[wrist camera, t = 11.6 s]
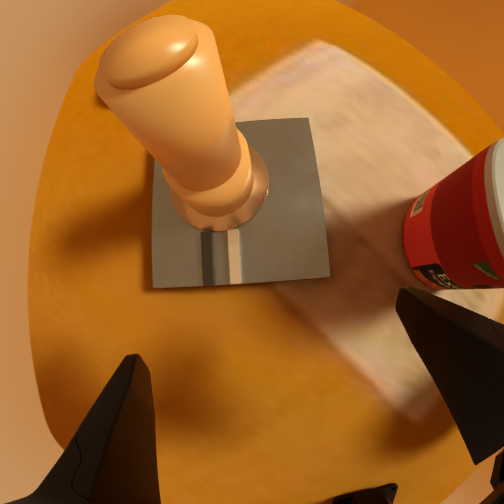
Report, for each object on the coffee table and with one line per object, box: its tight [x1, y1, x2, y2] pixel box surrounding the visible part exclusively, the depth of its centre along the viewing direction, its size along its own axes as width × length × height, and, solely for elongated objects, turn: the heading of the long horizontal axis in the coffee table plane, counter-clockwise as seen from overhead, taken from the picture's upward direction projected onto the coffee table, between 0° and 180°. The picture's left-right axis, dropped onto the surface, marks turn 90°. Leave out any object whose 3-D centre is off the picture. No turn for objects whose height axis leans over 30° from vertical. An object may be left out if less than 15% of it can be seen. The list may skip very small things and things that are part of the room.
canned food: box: [402, 138, 504, 290], centre depth 13 cm, size 8×8×11 cm
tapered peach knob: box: [94, 15, 254, 217], centre depth 12 cm, size 5×5×13 cm
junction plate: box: [152, 118, 330, 288], centre depth 19 cm, size 12×12×2 cm
